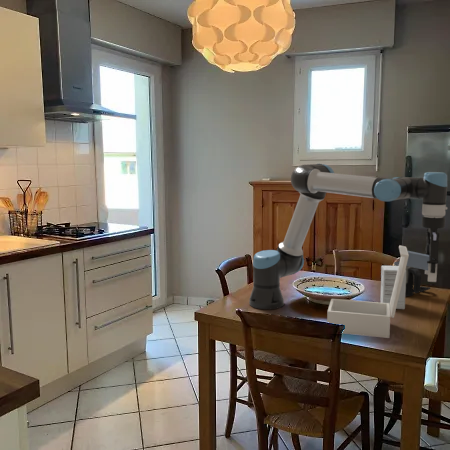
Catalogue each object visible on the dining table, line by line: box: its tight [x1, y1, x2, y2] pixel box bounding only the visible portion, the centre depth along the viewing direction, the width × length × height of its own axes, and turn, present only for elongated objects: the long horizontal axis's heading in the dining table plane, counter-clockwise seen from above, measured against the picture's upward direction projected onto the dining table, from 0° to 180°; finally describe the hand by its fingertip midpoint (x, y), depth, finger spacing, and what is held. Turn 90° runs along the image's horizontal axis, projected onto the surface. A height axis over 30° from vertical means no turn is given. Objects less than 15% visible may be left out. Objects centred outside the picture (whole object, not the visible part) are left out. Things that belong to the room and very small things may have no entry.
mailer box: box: [326, 298, 391, 339], centre depth 179 cm, size 22×16×8 cm
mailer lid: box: [390, 244, 429, 318], centre depth 171 cm, size 23×16×12 cm
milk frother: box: [393, 260, 431, 297], centre depth 221 cm, size 14×16×15 cm
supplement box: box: [379, 265, 406, 310], centre depth 203 cm, size 10×9×17 cm
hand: (430, 277), depth 169 cm, fingers open, 10 cm apart
